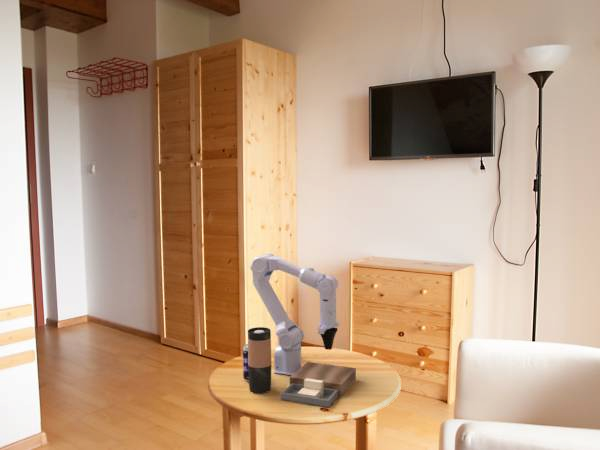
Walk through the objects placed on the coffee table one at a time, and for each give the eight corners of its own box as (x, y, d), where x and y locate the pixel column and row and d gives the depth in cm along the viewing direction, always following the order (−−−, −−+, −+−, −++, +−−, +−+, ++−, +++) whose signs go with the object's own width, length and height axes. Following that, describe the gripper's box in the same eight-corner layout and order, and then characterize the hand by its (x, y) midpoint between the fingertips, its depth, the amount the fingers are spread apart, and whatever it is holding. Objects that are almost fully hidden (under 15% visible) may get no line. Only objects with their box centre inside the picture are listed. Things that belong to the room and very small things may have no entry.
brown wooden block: (289, 388, 170) (289, 377, 169) (307, 372, 184) (307, 361, 184) (341, 396, 163) (341, 384, 162) (355, 379, 177) (355, 368, 177)
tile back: (306, 391, 166) (304, 393, 164) (306, 378, 166) (303, 380, 164) (323, 394, 164) (321, 396, 162) (323, 380, 163) (321, 382, 162)
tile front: (302, 387, 164) (302, 393, 164) (297, 393, 160) (297, 399, 160) (320, 390, 162) (320, 396, 162) (315, 395, 158) (315, 402, 158)
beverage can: (243, 376, 181) (243, 343, 180) (259, 376, 182) (259, 343, 181) (243, 382, 176) (242, 348, 175) (259, 382, 176) (259, 347, 175)
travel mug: (275, 386, 172) (274, 328, 170) (266, 395, 165) (265, 334, 163) (254, 383, 174) (253, 326, 173) (244, 392, 167) (243, 332, 166)
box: (280, 400, 161) (280, 393, 161) (292, 389, 169) (292, 383, 169) (328, 407, 155) (328, 400, 154) (338, 396, 163) (338, 389, 163)
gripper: (331, 316, 171) (331, 356, 171) (345, 307, 184) (345, 344, 185) (312, 314, 173) (312, 354, 174) (327, 305, 187) (327, 342, 188)
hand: (328, 348), depth 180 cm, fingers closed
